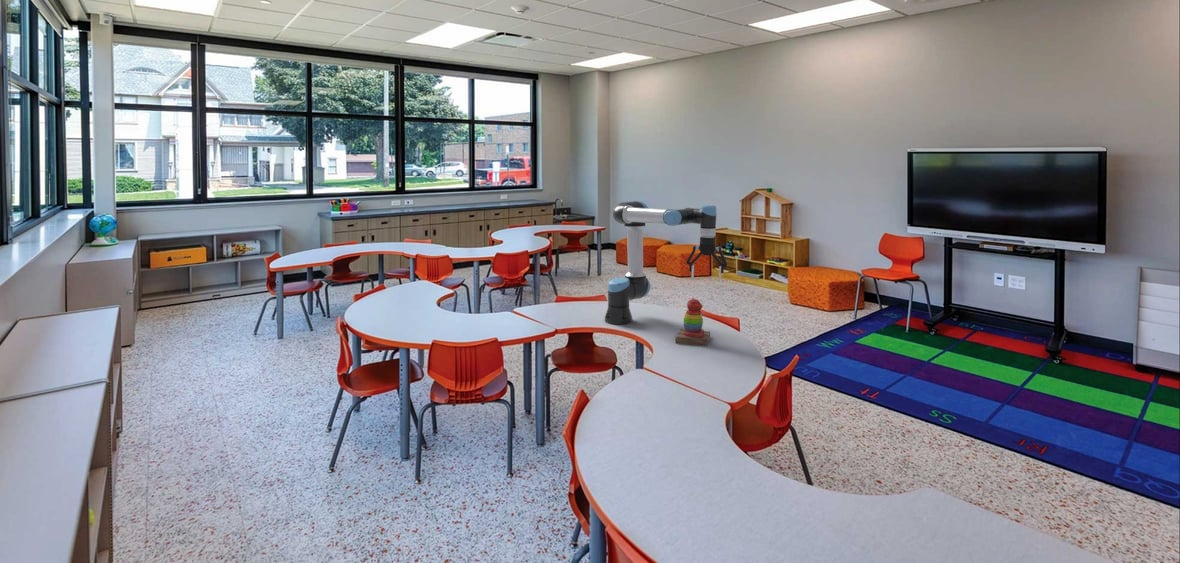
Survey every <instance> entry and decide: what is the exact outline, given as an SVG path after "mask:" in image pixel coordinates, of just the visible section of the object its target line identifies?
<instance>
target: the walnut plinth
mask: <svg viewBox="0 0 1180 563" xmlns="http://www.w3.org/2000/svg"><path fill="white" fill-rule="evenodd" d="M684 330H685V329H683V328H682V329H679V331H678V333H676V336H675V344H678V343H679V345H691V346H702V345H704V347H707V346H708V344H709V341H710V339H709V338H711V331H710V330H709V331H707V330H704V333H703V334H704V337H702V338H697V337H689V336H686V335H684ZM705 345H706V346H705Z"/></svg>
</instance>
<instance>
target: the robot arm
mask: <svg viewBox="0 0 1180 563" xmlns="http://www.w3.org/2000/svg"><path fill="white" fill-rule="evenodd" d="M612 217H613V219H614V221H615V222H616V223H618V224H621V225H623V226H624V227H625V229H626V234H627V236H626V237H627V241H626V242H627V245H626V246H627V272H626V273H625V275H624V277H615V278H612V279H610V280H609V281H608V285H607V310H606V312H605V315H604V322H605V321H606V322H605V323H607V322H608V324H610V323H611V325H628V324H631V323H632V322H633V315H632V312H631V309H630V301H633V300H638V299H642V298H644V297H646V296H647V295H648V294H649V293H650V290H651V282H650V281H649V279H648V277H647V273H645V272H644V240H643V239H644V232H643V231H644V228H645V227H646V224H658V225H667V226H672V227H674V226H679V225H688V224H689V225H690V224H695V225H699V226H700V229H699V231H700V232H699V236H700V237H699V245H693V247H692V251H691V253H690V254H689V257H688V259H687V260H686V262H685V264H686V265H689V272H690V273H691V278H690V279H691V280H693V279H694V277H695V276H694V275H695V265H694V263H695V262H696V261H697V260H698V259H699V258H700V257H701V256H708V257H709V256H712V257H713V258H714V259H715V261H716V262H717V263H718V264H719V268H718V270H719V272H718V281H721V280H722V274H724V271H725V269H724V268H725V267H727V266H728V261H727V260H726V258H725V255H724V253H723V248H722V246H716V235H717V234H716V231H717V230H716V229H717V228H716V227H717V223H716V222H717V206H716V205H713V204H704V205H702V204H701V206H700V208H693V207H683V208H682V209H681V208H680V209H669V208H649V207H648V205H647V204H646V203H644V202H643V201H637V200H635V201H626V202H620V203H617V204H616V205H615V206H614V208H613V209H612ZM697 250H699V253H698V254H697V255H696V256H695V257H694V258H693V256H694V255H695V253H696V251H697ZM715 251H716V252H718V253H719V256H720V258H721V259H722V260H721V259H720V258H719V256H718V255H717V254H716V253H715ZM692 258H693V260H691V259H692Z"/></svg>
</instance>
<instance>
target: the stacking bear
mask: <svg viewBox="0 0 1180 563" xmlns="http://www.w3.org/2000/svg"><path fill="white" fill-rule="evenodd" d="M686 305H687V306H686V307H687V310H686V312H685V313H684V317H683V322H682V323H683V327H684V329H685V330H684V335H686V336H689V337H697V338H702V337H704V334H703V333H704V331H705V330H703V324H704V319H703V314H702V311H701V310H702V308H703V306H704V305H703V303H701V302H700V301H699V300H698V299H696V298H694V297H692V298H691V299H690V300H688V301H687V304H686Z"/></svg>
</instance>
